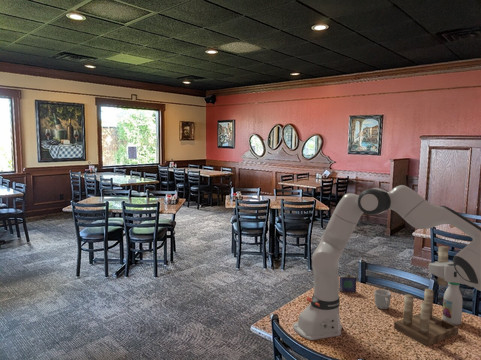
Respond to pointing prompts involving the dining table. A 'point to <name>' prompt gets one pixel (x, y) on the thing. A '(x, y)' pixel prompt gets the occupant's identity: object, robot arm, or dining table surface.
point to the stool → (424, 322)
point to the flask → (347, 283)
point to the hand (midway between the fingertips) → (441, 262)
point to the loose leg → (442, 258)
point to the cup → (382, 298)
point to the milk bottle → (452, 304)
